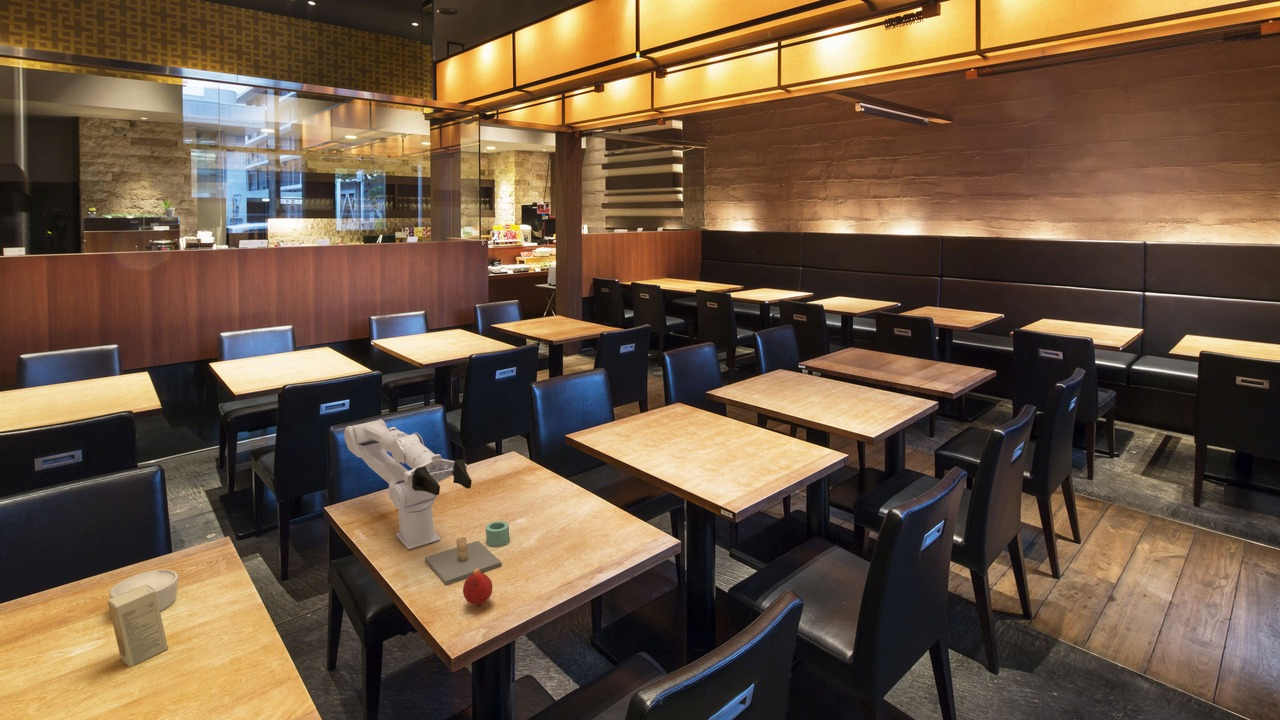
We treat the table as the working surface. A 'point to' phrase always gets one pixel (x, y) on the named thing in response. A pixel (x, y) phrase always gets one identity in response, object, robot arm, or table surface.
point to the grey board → (462, 563)
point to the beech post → (462, 549)
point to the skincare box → (137, 624)
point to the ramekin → (151, 585)
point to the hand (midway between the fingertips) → (454, 487)
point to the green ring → (497, 533)
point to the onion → (477, 588)
